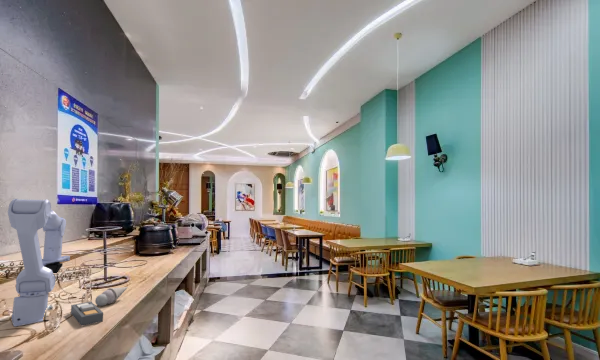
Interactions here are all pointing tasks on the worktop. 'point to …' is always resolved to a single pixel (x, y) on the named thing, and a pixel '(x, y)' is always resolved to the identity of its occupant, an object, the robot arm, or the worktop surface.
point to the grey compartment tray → (86, 319)
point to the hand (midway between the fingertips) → (50, 282)
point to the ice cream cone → (109, 296)
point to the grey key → (86, 307)
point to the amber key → (90, 312)
